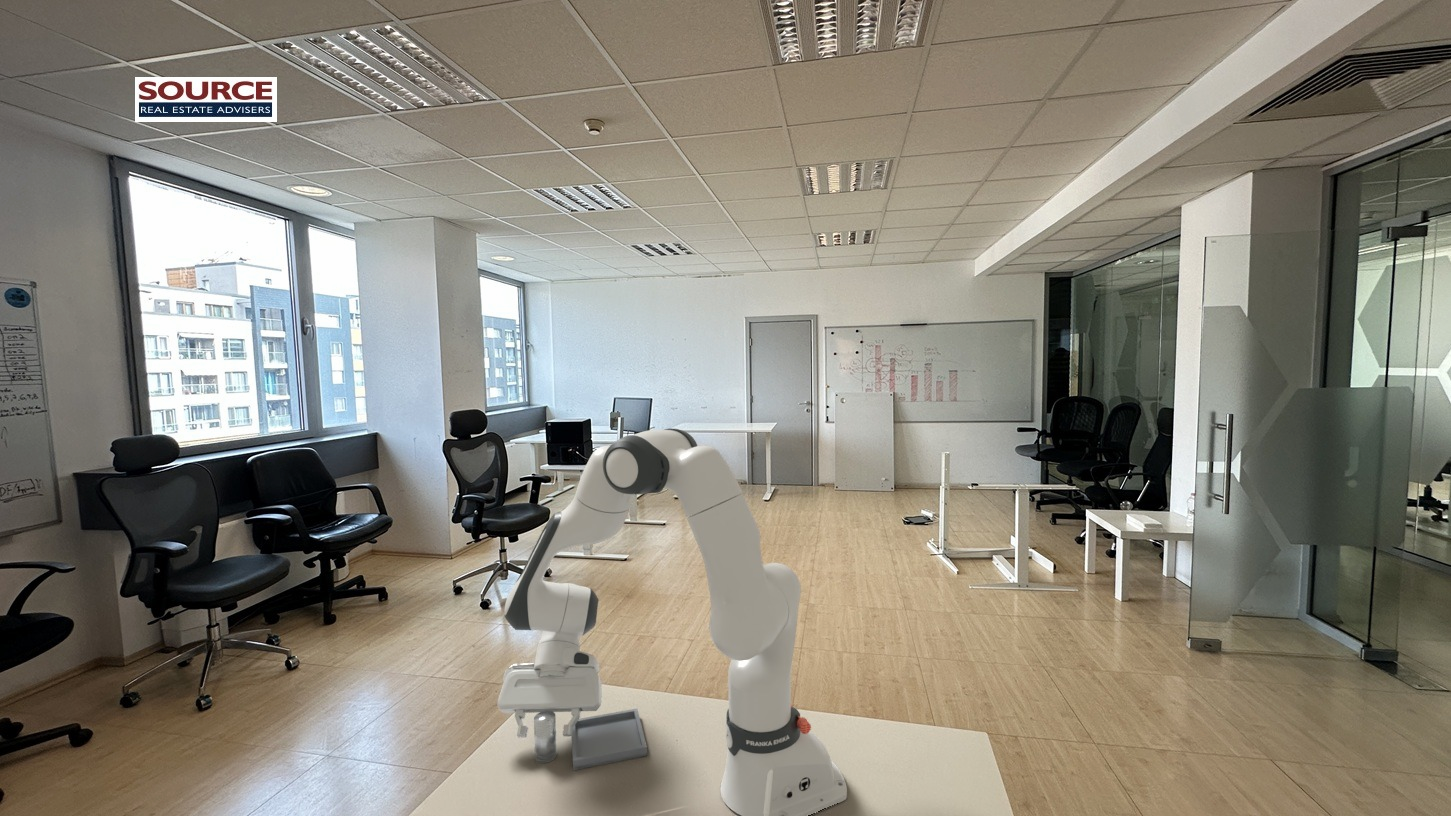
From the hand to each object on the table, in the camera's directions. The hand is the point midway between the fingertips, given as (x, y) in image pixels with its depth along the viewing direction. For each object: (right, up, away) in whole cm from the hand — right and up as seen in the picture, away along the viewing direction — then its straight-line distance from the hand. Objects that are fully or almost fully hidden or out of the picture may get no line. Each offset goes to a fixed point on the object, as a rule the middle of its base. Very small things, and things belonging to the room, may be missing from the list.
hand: (544, 736), depth 111 cm
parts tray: (+11, -4, +5) cm, 13 cm away
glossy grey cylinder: (0, -4, +1) cm, 4 cm away
